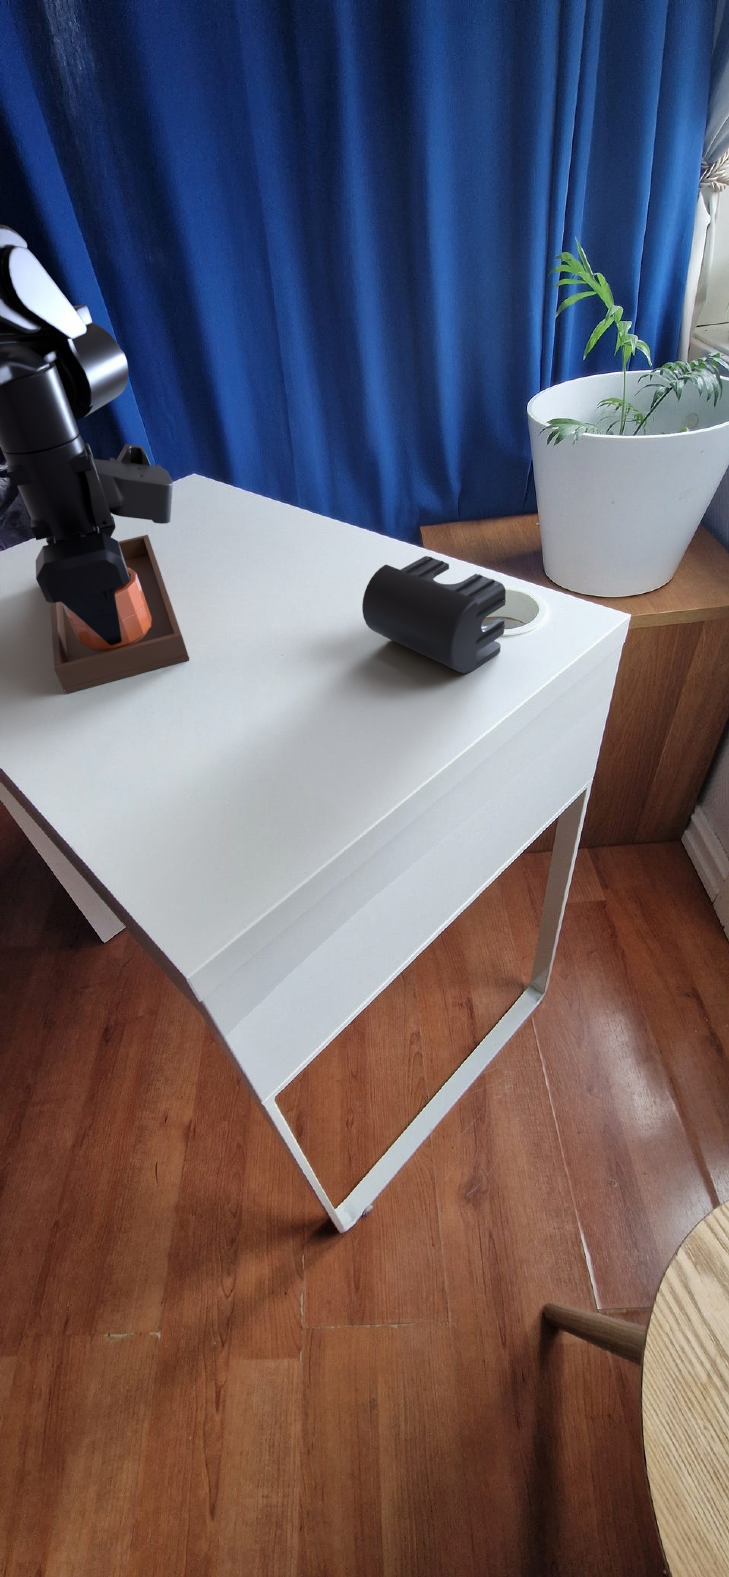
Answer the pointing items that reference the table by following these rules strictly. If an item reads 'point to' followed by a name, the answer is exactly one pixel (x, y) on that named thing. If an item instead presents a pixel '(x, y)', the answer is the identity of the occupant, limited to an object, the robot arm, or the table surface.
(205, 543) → the table surface
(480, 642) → the end cap
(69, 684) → the tray
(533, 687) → the table surface
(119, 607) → the terracotta flower pot
